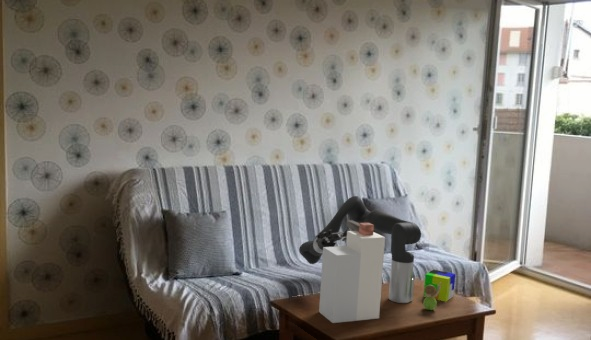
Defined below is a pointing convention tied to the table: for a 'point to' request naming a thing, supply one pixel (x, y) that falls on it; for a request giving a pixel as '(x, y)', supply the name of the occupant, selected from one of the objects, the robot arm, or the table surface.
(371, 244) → the step stand
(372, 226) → the marker bar
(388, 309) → the table surface
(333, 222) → the robot arm
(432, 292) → the snail figurine
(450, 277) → the puzzle toy
